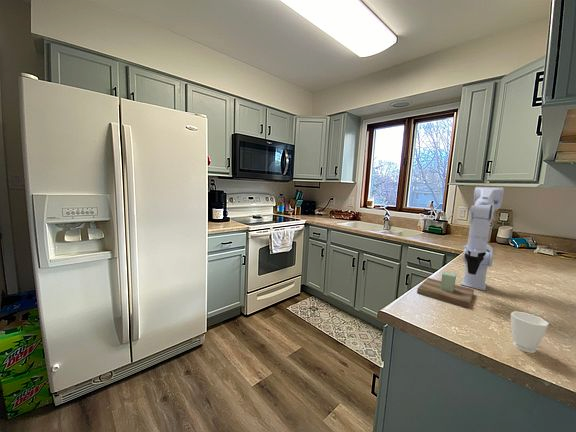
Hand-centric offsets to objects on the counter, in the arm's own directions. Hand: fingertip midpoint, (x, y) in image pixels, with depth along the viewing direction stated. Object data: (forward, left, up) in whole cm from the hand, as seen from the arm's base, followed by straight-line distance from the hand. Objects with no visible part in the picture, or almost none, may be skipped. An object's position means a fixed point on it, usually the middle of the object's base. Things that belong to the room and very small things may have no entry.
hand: (473, 271), depth 92 cm
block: (+6, -7, -7) cm, 12 cm away
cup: (+28, +14, -10) cm, 33 cm away
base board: (+6, -7, -9) cm, 13 cm away
